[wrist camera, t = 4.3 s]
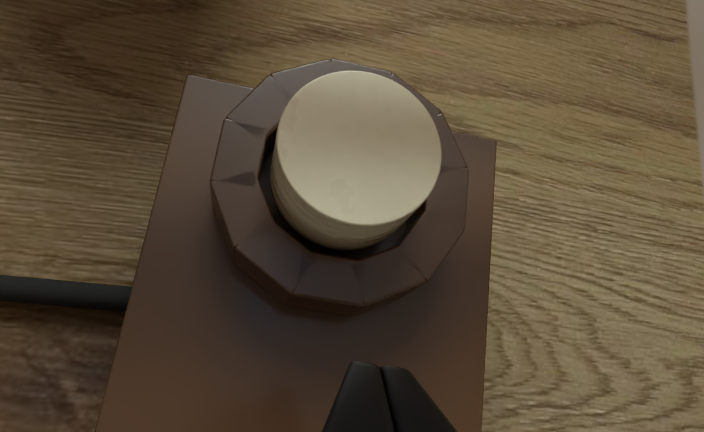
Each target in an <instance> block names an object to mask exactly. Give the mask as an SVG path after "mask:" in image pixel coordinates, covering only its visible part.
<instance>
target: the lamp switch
mask: <svg viewBox="0 0 704 432" xmlns="http://www.w3.org/2000/svg"><path fill="white" fill-rule="evenodd" d="M441 153H442V152H441V144H440V139H439V135H438V131H437V129H436V126H435V124H434V121H433V120H432V118H431V116H430V114H429V113H428V111H427V110H426V108H425V107H424V105H423V104H422V103H421V102H420V101H419V100H418V99H417V98H416V97H415V96H414V95H413V94H412V93H411V92H410V91H408V90H407V89H406V88H404V87H403V86H401V85H400V84H398V83H396V82H394V81H393V80H391V79H388V78H386V77H383V76H381V75H377V74H374V73H369V72H363V71H340V72H335V73H330V74H327V75H324V76H321V77H319V78H317V79H315V80H313V81H311V82H309V83H308V84H306V85H305V86H303V87H302V88H301V89H300V90H299V91H298V92H297V93H295V95H294V96H293V97H292V98H291V99H290V101H289V102H288V104H287V105H286V107H285V109H284V111H283V113H282V115H281V117H280V121H279V124H278V128H277V134H276V140H275V146H274V152H273V158H272V164H271V172H270V183H271V189H272V194H273V197H274V200H275V203H276V205H277V207H278V209H279V211H280V213H281V214H282V216H283V217H284V219H285V220H286V221H287V222H288V223H289V225H290V226H291V227H292V228H293V229H294V230H296V231H297V232H298V233H299V234H301V235H302V236H303V237H305V238H306V239H308V240H310V241H312V242H314V243H316V244H318V245H321V246H324V247H327V248H332V249H338V250H357V249H363V248H367V247H370V246H373V245H375V244H378V243H380V242H382V241H383V240H385V239H386V238H388V237H389V236H390V235H392V234H393V233H394V232H395V231H396V230H397V229H398V228H399V227H400V226H401V225H402V224H403V223H404V222H405V221H406V220H407V219H408V218H409V217H410V216H411V215H412V214H413V213H414V212H415V211H416V210H417V209H418V208H419V207H420V206H421V205H422V204H423V202H424V201H425V200H426V199H427V198H428V196H429V195H430V193H431V192H432V190H433V188H434V186H435V184H436V182H437V179H438V176H439V173H440V167H441Z"/></svg>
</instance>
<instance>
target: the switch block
mask: <svg viewBox="0 0 704 432" xmlns="http://www.w3.org/2000/svg"><path fill="white" fill-rule="evenodd" d="M340 71H363V72H369V73H374V74H377V75H381V76H383V77H386V78H388V79H391V80H393V81H394V82H396V83H398V84H400V85H401V86H403V87H404V88H406V89H407V90H408V91H410V92H411V93H412V94H413V95H414V96H415V97H416V98H417V99H418V100H419V101H420V102H421V103H422V104H423V105H424V107H425V108H426V110H427V111H428V113H429V114H430V116H431V118H432V120H433V121H434V124H435V126H436V129H437V131H438V135H439V139H440V144H441V152H442V153H441V167H440V173H439V176H438V179H437V182H436V184H435V186H434V188H433V190H432V192H431V193H430V195H429V196H428V198H427V199H426V200H425V201H424V202H423V204H422V205H421V206H420V207H419V208H418V209H417V210H416V211H415V212H414V213H413V214H412V215H411V216H410V217H409V218H408V219H407V220H406V221H405V222H404V223H403V224H402V225H401V226H400V227H399V228H398V229H397V230H396V231H395V232H394V233H393V234H392V235H390V236H389V237H388V238H386V239H385V240H383V241H382V242H380V243H378V244H375V245H373V246H370V247H367V248H363V249H357V250H338V249H332V248H327V247H324V246H321V245H318V244H316V243H314V242H312V241H310V240H308V239H306V238H305V237H303V236H302V235H301V234H299V233H298V232H297V231H296V230H294V229H293V228H292V227H291V226H290V225H289V223H288V222H287V221H286V220H285V219H284V217H283V216H282V214H281V213H280V211H279V209H278V207H277V205H276V203H275V200H274V197H273V194H272V189H271V183H270V172H271V164H272V158H273V152H274V146H275V140H276V134H277V128H278V124H279V121H280V117H281V115H282V113H283V111H284V109H285V107H286V105H287V104H288V102H289V101H290V99H291V98H292V97H293V96H294V95H295V93H297V92H298V91H299V90H300V89H301V88H302V87H303V86H305V85H306V84H308V83H309V82H311V81H313V80H315V79H317V78H319V77H321V76H324V75H327V74H330V73H335V72H340ZM496 144H497V142H496V140H492V139H487V138H483V137H478V136H473V135H469V134H464V133H460V132H455V131H451V129H450V127H449V125H448V123H447V121H446V119H445V117H444V115H443V114H442V113H441V110H440V109H438V108H437V107H436V106H435V105H433V104H432V103H431V102H430V101H428V100H427V99H426V98H424V97H423V96H422V95H421V94H419V93H418V92H417V91H416V90H414V89H413V88H412V87H411V86H409V85H408V84H407V83H406V82H404V81H403V80H402V79H400V78H399V77H398V76H397V75H395V74H392V72H390V71H385V70H381V69H377V68H372V67H368V66H363V65H359V64H355V63H350V62H346V61H341V60H337V59H331V60H330V59H326V60H322V61H318V62H314V63H310V64H306V65H302V66H298V67H294V68H290V69H286V70H282V71H278V72H274V73H271V74H270V75H269V76H267V77H266V78H265V79H264V80H263V81H262V82H261V83H260V84H259V85H258V86H257V87H256V88H251V87H246V86H241V85H237V84H232V83H227V82H223V81H218V80H213V79H209V78H204V77H200V76H195V75H190V74H187V76H186V79H185V83H184V87H183V91H182V95H181V98H180V102H179V106H178V110H177V114H176V118H175V122H174V126H173V130H172V133H171V137H170V141H169V145H168V149H167V153H166V157H165V161H164V165H163V168H162V172H161V176H160V180H159V184H158V188H157V192H156V196H155V200H154V203H153V207H152V211H151V215H150V219H149V223H148V227H147V231H146V235H145V238H144V242H143V246H142V250H141V254H140V258H139V262H138V266H137V270H136V274H135V277H134V281H133V285H132V289H131V293H130V297H129V301H128V305H127V309H126V312H125V316H124V320H123V324H122V328H121V332H120V336H119V340H118V344H117V347H116V351H115V355H114V359H113V363H112V367H111V371H110V375H109V379H108V382H107V386H106V390H105V394H104V398H103V402H102V406H101V410H100V414H99V417H98V421H97V425H96V429H95V432H322V430H323V427H324V425H325V422H326V420H327V417H328V415H329V413H330V410H331V408H332V405H333V403H334V400H335V398H336V395H337V393H338V390H339V388H340V385H341V383H342V381H343V378H344V376H345V373H346V371H347V368H348V366H349V364H350V363H351V362H352V361H360V362H366V363H373V364H376V365H377V366H379V368H380V367H381V366H383V365H386V366H393V367H400V368H405V369H408V370H409V371H410V372H411V373H412V374H413V375H414V376H415V378H416V379H417V380H418V382H419V383H420V384H421V385H422V387H423V388H424V389H425V391H426V392H427V393H428V394H429V396H430V397H431V398H432V400H433V401H434V402H435V403H436V405H437V406H438V407H439V409H440V410H441V411H442V412H443V414H444V415H445V416H446V417H447V419H448V420H449V421H450V423H451V424H452V425H453V426H454V428H455V429H456V430H457V432H481V428H482V409H483V390H484V371H485V352H486V333H487V314H488V295H489V276H490V258H491V239H492V220H493V201H494V182H495V163H496Z"/></svg>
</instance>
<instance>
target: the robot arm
mask: <svg viewBox="0 0 704 432" xmlns="http://www.w3.org/2000/svg"><path fill="white" fill-rule="evenodd" d="M322 432H457V430H456V429H455V428H454V426H453V425H452V424H451V423H450V421H449V420H448V419H447V417H446V416H445V415H444V414H443V412H442V411H441V410H440V409H439V407H438V406H437V405H436V403H435V402H434V401H433V400H432V398H431V397H430V396H429V394H428V393H427V392H426V391H425V389H424V388H423V387H422V385H421V384H420V383H419V382H418V380H417V379H416V378H415V376H414V375H413V374H412V373H411V372H410V371H409V370H408V369H405V368H400V367H393V366H386V365H383V366H381V367H380V368H379V366H377V365H376V364H373V363H366V362H360V361H352V362H351V363H350V364H349V366H348V368H347V371H346V373H345V376H344V378H343V381H342V383H341V385H340V388H339V390H338V393H337V395H336V398H335V400H334V403H333V405H332V408H331V410H330V413H329V415H328V417H327V420H326V422H325V425H324V427H323V430H322Z"/></svg>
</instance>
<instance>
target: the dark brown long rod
mask: <svg viewBox="0 0 704 432" xmlns="http://www.w3.org/2000/svg"><path fill="white" fill-rule="evenodd" d="M131 289H132V287H128V286H117V285H106V284H95V283H84V282H73V281H62V280H51V279H40V278H29V277H18V276H7V275H0V301H7V302H19V303H31V304H43V305H55V306H67V307H79V308H91V309H103V310H115V311H126V309H127V305H128V301H129V297H130V293H131Z"/></svg>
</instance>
